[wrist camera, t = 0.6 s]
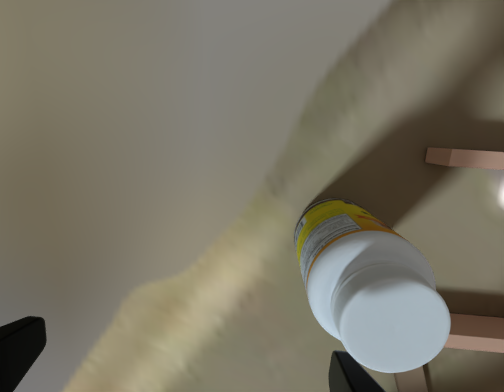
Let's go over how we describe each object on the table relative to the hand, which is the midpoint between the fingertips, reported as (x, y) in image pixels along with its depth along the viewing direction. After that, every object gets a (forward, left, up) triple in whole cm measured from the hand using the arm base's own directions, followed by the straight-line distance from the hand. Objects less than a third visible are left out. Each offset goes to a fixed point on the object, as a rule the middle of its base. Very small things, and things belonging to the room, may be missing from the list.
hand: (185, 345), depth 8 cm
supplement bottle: (0, -7, -12) cm, 14 cm away
